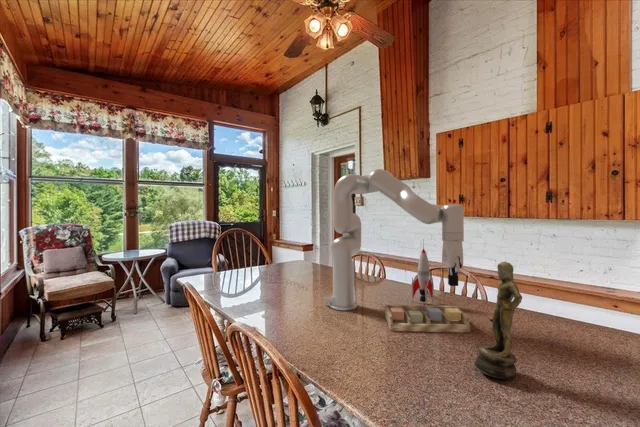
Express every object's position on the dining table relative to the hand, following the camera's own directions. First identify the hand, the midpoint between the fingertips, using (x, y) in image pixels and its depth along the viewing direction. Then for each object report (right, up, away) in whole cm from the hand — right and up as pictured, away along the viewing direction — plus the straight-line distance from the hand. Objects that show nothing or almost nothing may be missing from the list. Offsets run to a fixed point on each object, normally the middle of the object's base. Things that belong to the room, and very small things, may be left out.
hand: (453, 285), depth 117 cm
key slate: (-7, -13, +1) cm, 15 cm away
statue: (-3, -16, -34) cm, 38 cm away
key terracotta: (-21, -13, +2) cm, 25 cm away
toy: (-3, -15, +25) cm, 29 cm away
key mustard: (0, -13, 0) cm, 13 cm away
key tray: (-10, -15, +1) cm, 18 cm away
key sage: (-14, -14, +1) cm, 20 cm away
